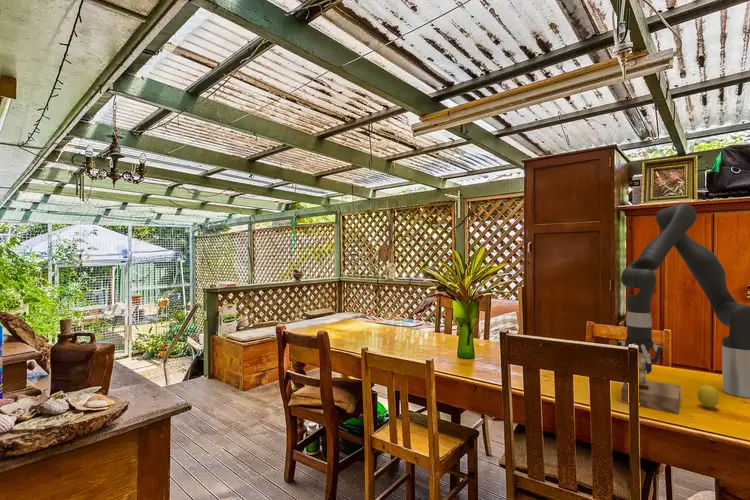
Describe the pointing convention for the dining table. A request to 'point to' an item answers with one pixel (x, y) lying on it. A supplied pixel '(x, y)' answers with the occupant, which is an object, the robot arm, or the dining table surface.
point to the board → (656, 396)
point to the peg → (642, 368)
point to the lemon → (708, 396)
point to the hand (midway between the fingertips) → (639, 371)
